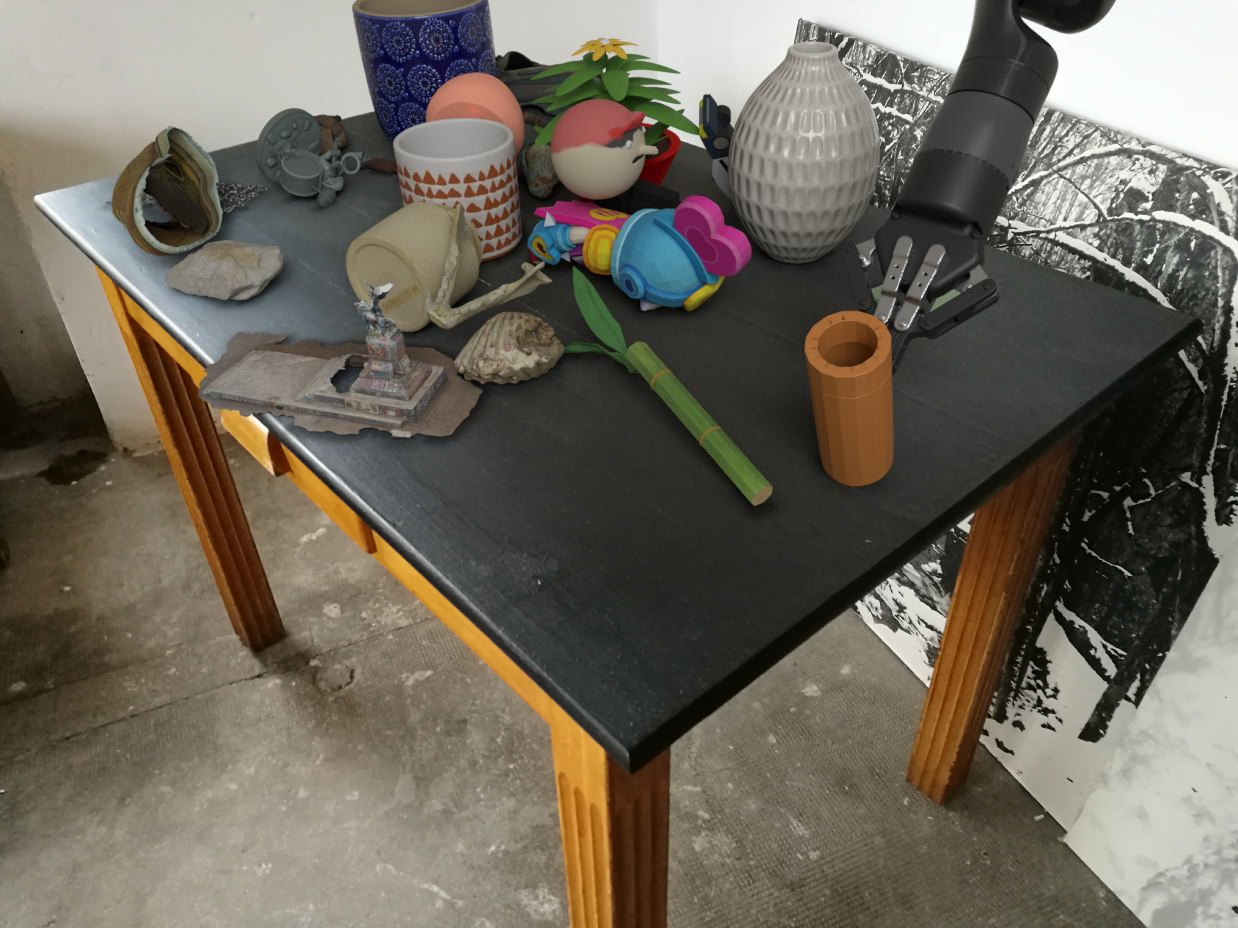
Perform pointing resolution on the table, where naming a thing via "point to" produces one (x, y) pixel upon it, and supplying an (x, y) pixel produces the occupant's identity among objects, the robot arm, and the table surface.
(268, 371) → the monument
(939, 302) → the coaster
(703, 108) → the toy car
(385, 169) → the knife
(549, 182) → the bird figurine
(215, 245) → the stone
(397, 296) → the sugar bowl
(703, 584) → the table surface
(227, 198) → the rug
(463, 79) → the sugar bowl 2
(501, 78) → the loafer
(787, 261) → the vase
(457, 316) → the jawbone
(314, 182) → the figurine
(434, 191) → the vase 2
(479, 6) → the planter
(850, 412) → the jar
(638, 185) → the toy
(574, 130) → the toy
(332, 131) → the figurine
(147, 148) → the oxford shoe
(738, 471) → the decorative plant
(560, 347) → the seashell
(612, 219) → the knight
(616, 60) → the potted flower
